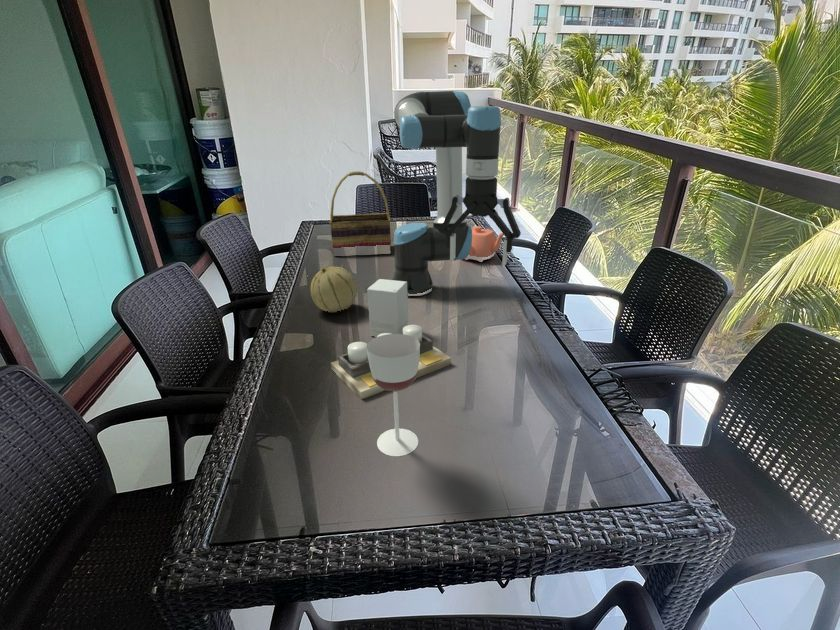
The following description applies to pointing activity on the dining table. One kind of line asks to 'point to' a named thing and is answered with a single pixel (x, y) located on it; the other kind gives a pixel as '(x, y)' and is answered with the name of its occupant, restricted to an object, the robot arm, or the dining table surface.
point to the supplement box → (388, 307)
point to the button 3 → (413, 332)
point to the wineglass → (394, 383)
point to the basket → (360, 224)
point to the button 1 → (357, 353)
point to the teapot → (484, 242)
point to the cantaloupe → (333, 289)
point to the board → (361, 376)
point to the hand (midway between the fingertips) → (478, 261)
